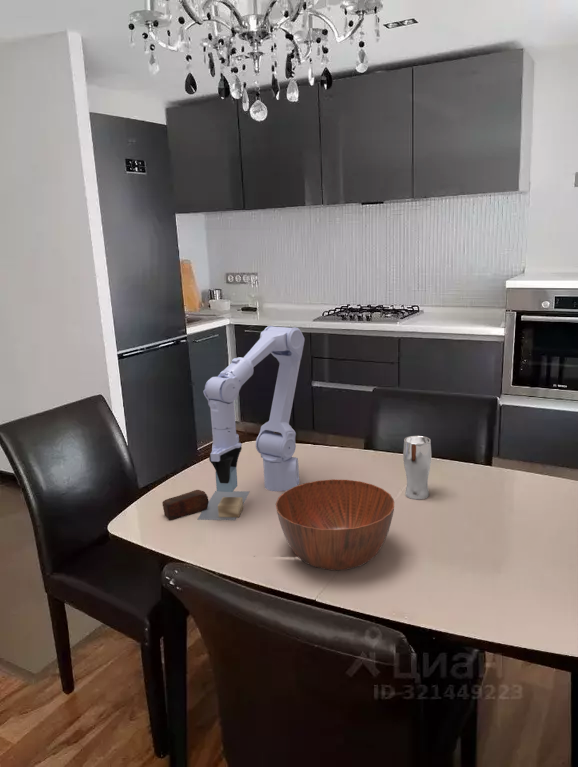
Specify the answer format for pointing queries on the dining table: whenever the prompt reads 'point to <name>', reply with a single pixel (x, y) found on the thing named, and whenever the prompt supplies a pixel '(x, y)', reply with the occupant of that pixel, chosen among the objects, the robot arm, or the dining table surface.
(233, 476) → the blue block
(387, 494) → the bowl
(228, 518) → the board
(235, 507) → the oak block
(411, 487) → the beer glass
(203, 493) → the brick
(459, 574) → the dining table surface
